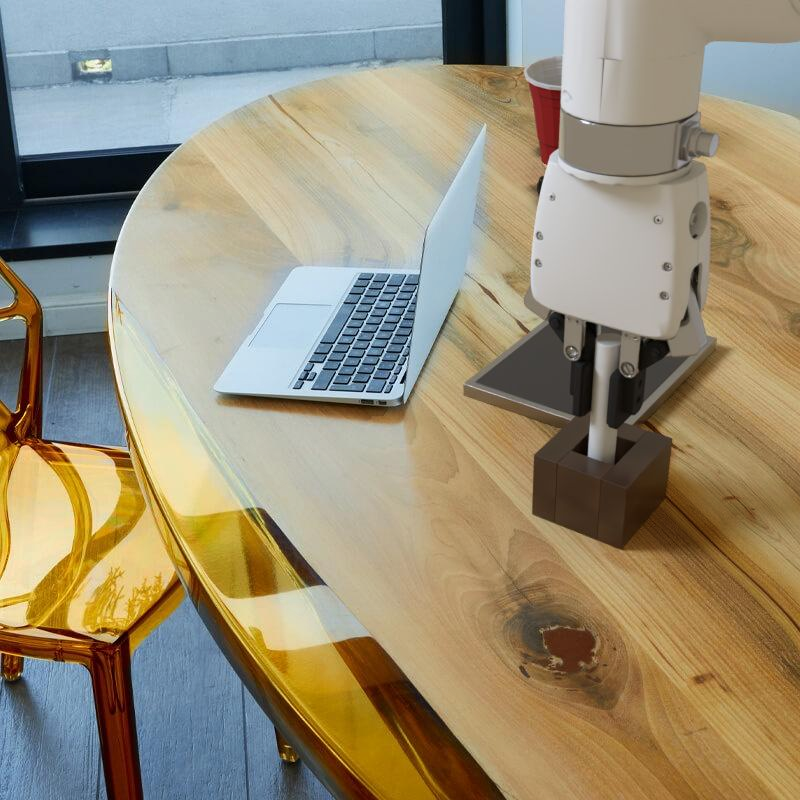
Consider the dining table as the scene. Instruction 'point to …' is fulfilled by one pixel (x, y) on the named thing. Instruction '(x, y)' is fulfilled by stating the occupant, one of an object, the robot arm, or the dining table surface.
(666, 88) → the robot arm
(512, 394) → the tablet
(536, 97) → the plastic cup
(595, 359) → the stylus
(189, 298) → the dining table surface
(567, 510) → the pen stand
